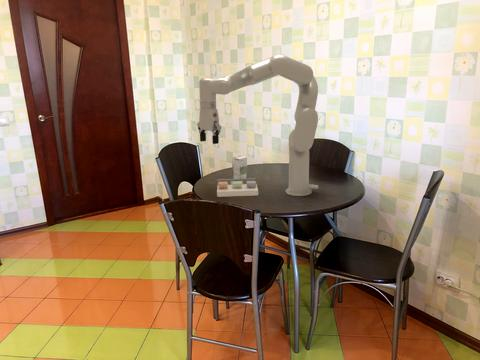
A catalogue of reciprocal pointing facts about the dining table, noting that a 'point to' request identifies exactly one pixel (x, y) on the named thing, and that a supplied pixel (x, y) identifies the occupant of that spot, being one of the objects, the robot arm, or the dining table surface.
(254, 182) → the grey key
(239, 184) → the sage key
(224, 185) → the terracotta key
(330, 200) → the dining table surface
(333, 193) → the dining table surface
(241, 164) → the syrup box
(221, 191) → the keypad
